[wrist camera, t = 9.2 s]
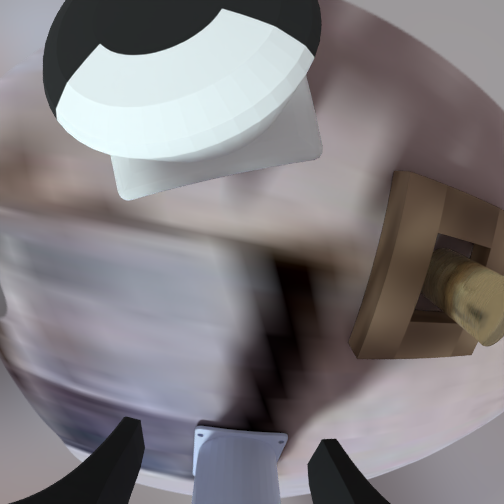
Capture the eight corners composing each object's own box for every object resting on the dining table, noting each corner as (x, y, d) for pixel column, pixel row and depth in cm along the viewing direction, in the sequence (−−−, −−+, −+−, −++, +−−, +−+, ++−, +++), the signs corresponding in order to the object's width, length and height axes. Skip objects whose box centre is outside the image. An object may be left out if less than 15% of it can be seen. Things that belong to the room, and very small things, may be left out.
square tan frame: (459, 343, 20) (471, 354, 18) (348, 342, 19) (357, 358, 17) (502, 213, 17) (518, 217, 15) (394, 170, 16) (410, 171, 14)
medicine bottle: (148, 77, 14) (23, -23, 2) (266, 50, 14) (300, -103, 2) (169, 189, 16) (24, 236, 4) (292, 163, 16) (405, 149, 4)
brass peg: (448, 300, 18) (503, 344, 12) (412, 297, 18) (468, 348, 11) (463, 251, 17) (527, 284, 11) (427, 244, 17) (495, 279, 10)
